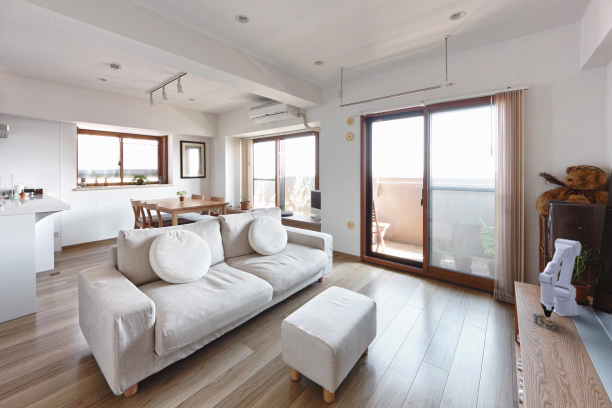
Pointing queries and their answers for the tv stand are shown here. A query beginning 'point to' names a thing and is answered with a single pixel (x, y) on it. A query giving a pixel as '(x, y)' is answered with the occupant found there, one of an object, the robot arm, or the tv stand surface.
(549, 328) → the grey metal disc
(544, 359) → the tv stand surface
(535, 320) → the block
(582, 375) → the tv stand surface
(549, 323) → the link
